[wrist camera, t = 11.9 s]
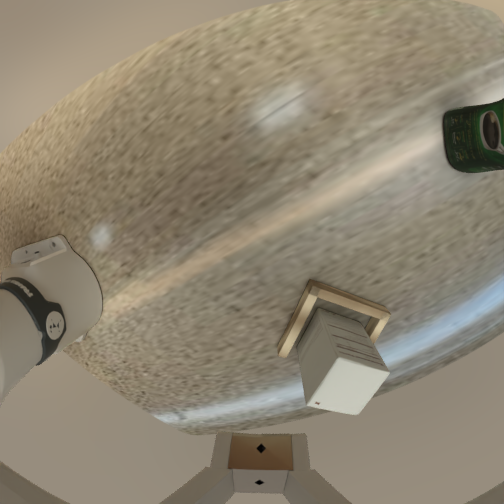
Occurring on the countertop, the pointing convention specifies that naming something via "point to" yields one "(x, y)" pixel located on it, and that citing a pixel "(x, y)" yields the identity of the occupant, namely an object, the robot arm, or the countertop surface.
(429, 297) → the countertop surface
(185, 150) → the countertop surface
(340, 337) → the supplement box
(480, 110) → the coffee jar
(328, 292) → the corral
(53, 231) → the countertop surface
